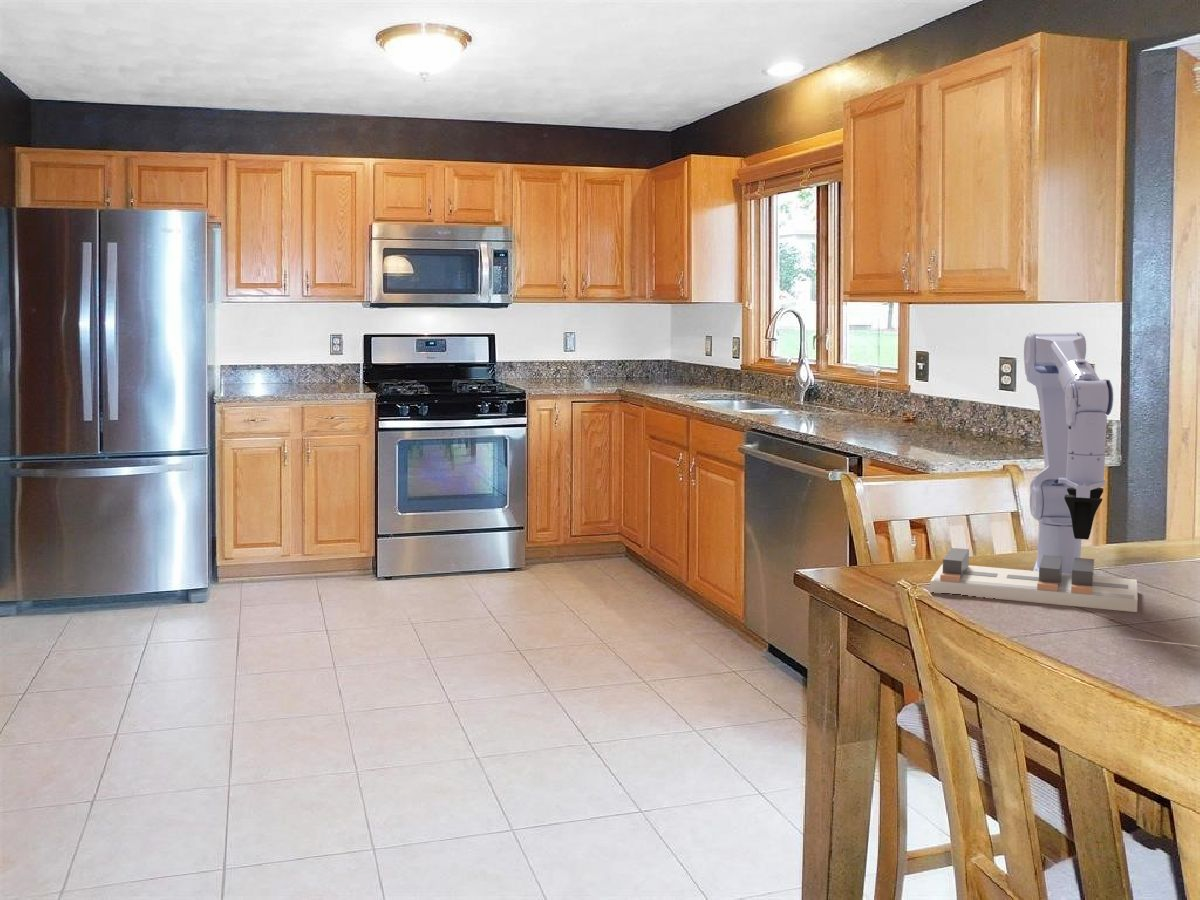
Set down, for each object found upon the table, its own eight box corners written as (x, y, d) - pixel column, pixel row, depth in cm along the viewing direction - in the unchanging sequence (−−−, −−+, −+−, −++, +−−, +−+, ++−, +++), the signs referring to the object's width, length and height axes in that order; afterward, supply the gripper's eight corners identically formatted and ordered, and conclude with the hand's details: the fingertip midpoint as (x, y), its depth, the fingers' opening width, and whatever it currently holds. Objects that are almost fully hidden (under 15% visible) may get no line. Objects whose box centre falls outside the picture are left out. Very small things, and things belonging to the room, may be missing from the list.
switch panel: (942, 574, 197) (942, 557, 197) (1136, 591, 184) (1137, 573, 184) (930, 592, 184) (930, 574, 184) (1137, 612, 171) (1138, 593, 171)
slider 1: (950, 564, 195) (951, 547, 195) (968, 566, 194) (969, 549, 194) (942, 576, 186) (942, 559, 186) (961, 578, 185) (961, 561, 185)
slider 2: (1073, 574, 187) (1074, 557, 186) (1093, 576, 186) (1094, 559, 185) (1071, 588, 178) (1072, 570, 177) (1091, 590, 177) (1092, 571, 176)
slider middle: (1042, 572, 189) (1043, 555, 188) (1061, 573, 188) (1062, 556, 187) (1038, 585, 180) (1039, 567, 180) (1058, 587, 179) (1059, 569, 178)
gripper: (1061, 447, 191) (1058, 524, 192) (1057, 457, 178) (1053, 540, 179) (1107, 448, 188) (1103, 528, 189) (1105, 459, 175) (1101, 544, 176)
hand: (1082, 534), depth 184 cm, fingers open, 7 cm apart
